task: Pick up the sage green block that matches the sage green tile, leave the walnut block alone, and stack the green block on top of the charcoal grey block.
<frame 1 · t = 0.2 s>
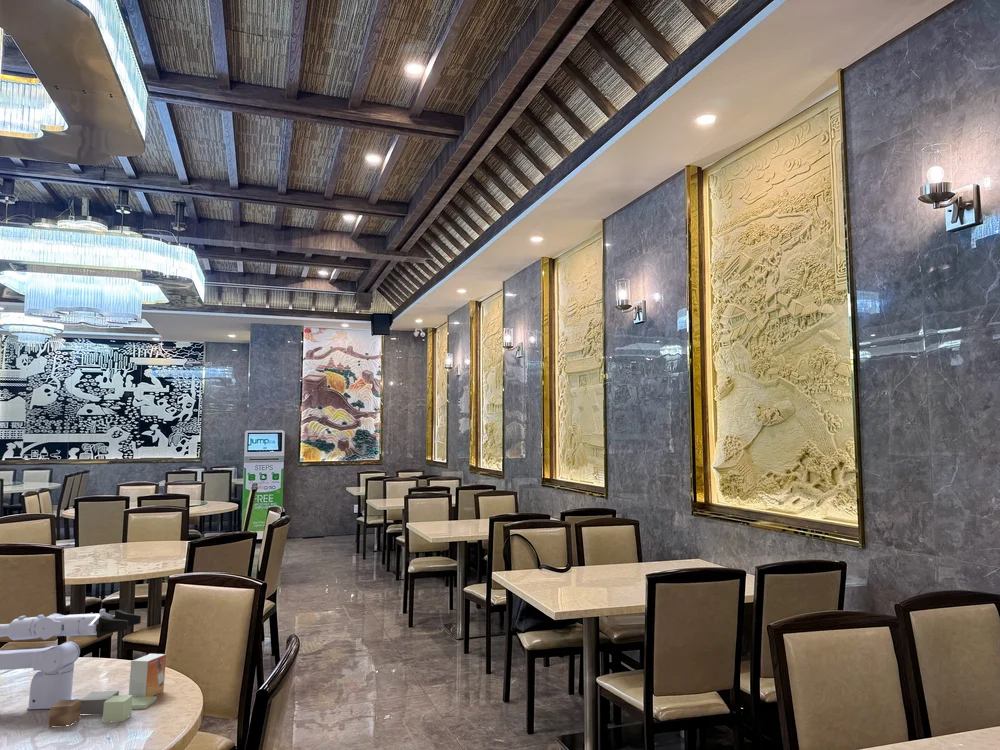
hand: (134, 622, 188), 21 cm above the table, tool horizontal, fingers open, 7 cm apart
sage green block: (117, 718, 173), on the table
sage green tile: (137, 704, 183), on the table
small box: (146, 696, 191), on the table
walnut block: (64, 723, 170), on the table
charcoal base block: (98, 711, 179), on the table
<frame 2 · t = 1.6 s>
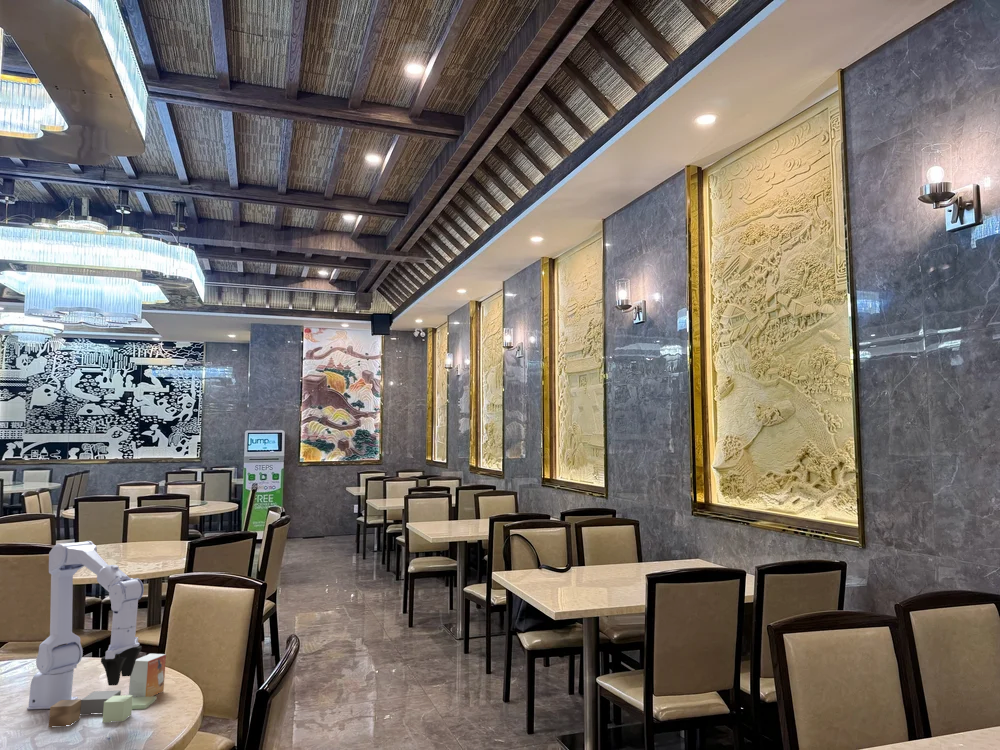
hand: (120, 680, 174), 9 cm above the table, tool pointing down, fingers open, 7 cm apart
nothing on the table moved.
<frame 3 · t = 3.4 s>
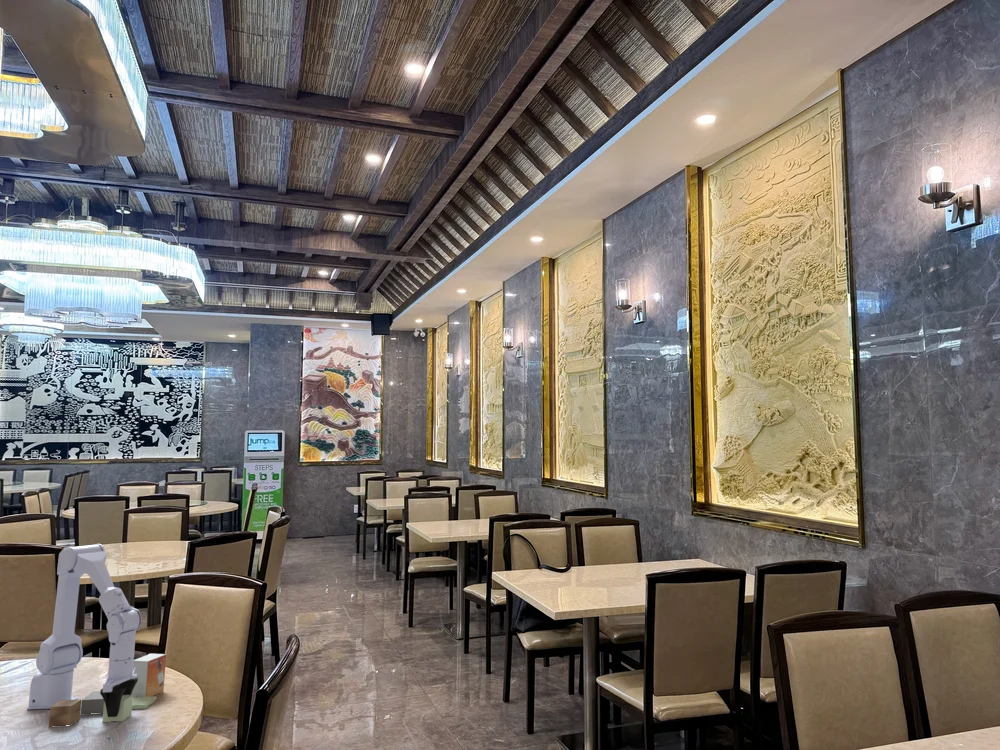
hand: (117, 712, 173), 1 cm above the table, tool pointing down, fingers closed on sage green block, 5 cm apart
sage green block: (117, 718, 173), on the table, touching gripper
everything else where it was.
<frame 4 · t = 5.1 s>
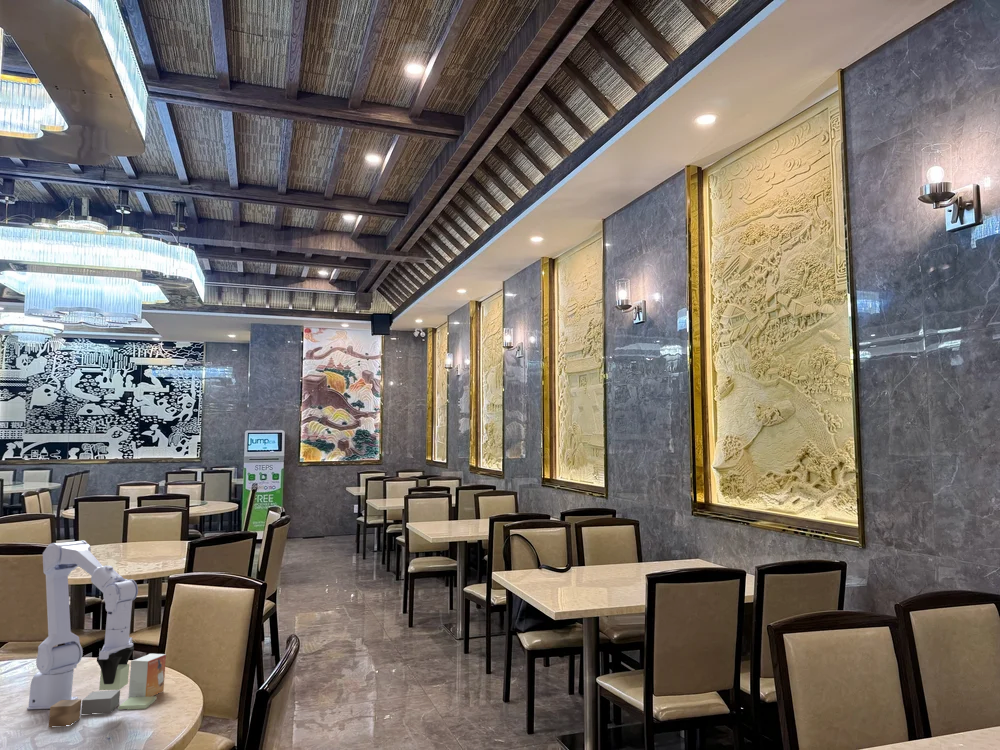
hand: (113, 680, 176), 9 cm above the table, tool pointing down, fingers closed on sage green block, 5 cm apart
sage green block: (113, 686, 176), point 7 cm above the table, touching gripper
everything else where it was.
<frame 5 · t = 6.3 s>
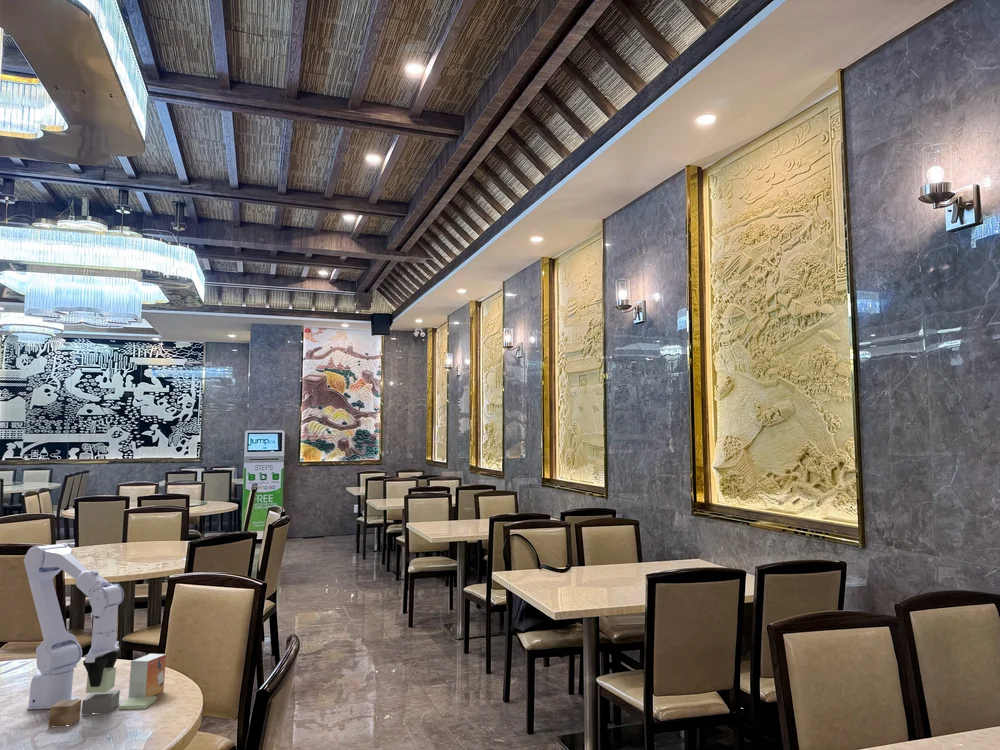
hand: (100, 683, 180), 7 cm above the table, tool pointing down, fingers closed on sage green block, 5 cm apart
sage green block: (100, 689, 180), point 5 cm above the table, touching gripper
everything else where it was.
when the fingers open (6 cm above the table, at t = 7.3 s): sage green block drops 1 cm, point 4 cm above the table.
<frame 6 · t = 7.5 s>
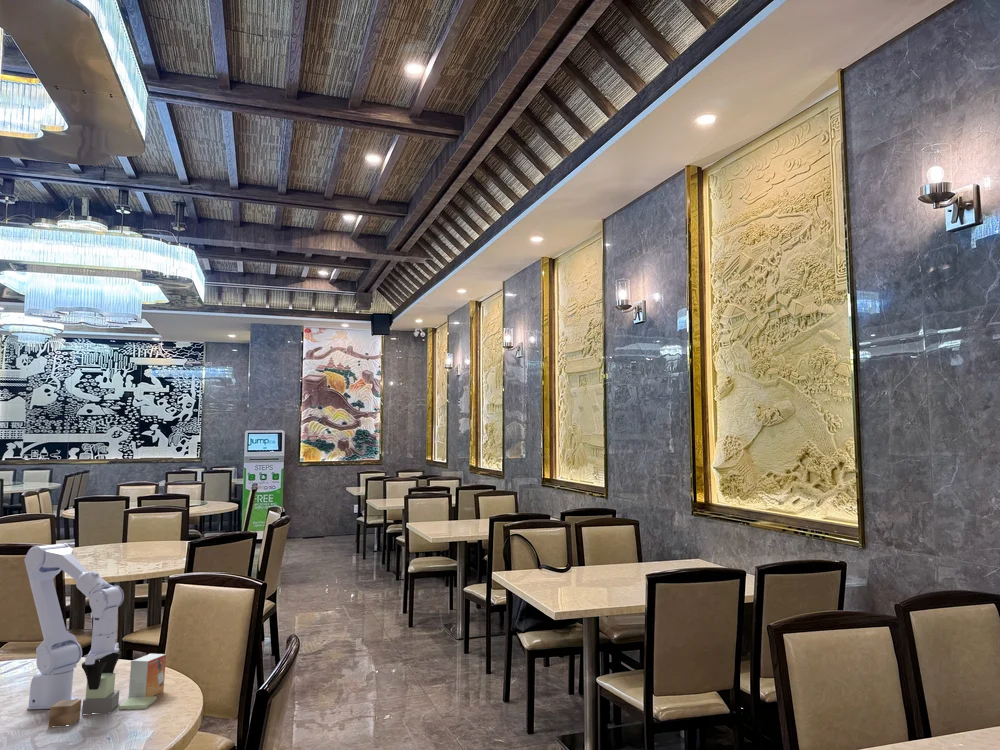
hand: (100, 685, 180), 6 cm above the table, tool pointing down, fingers open, 6 cm apart
sage green block: (99, 695, 180), point 4 cm above the table
everything else where it was.
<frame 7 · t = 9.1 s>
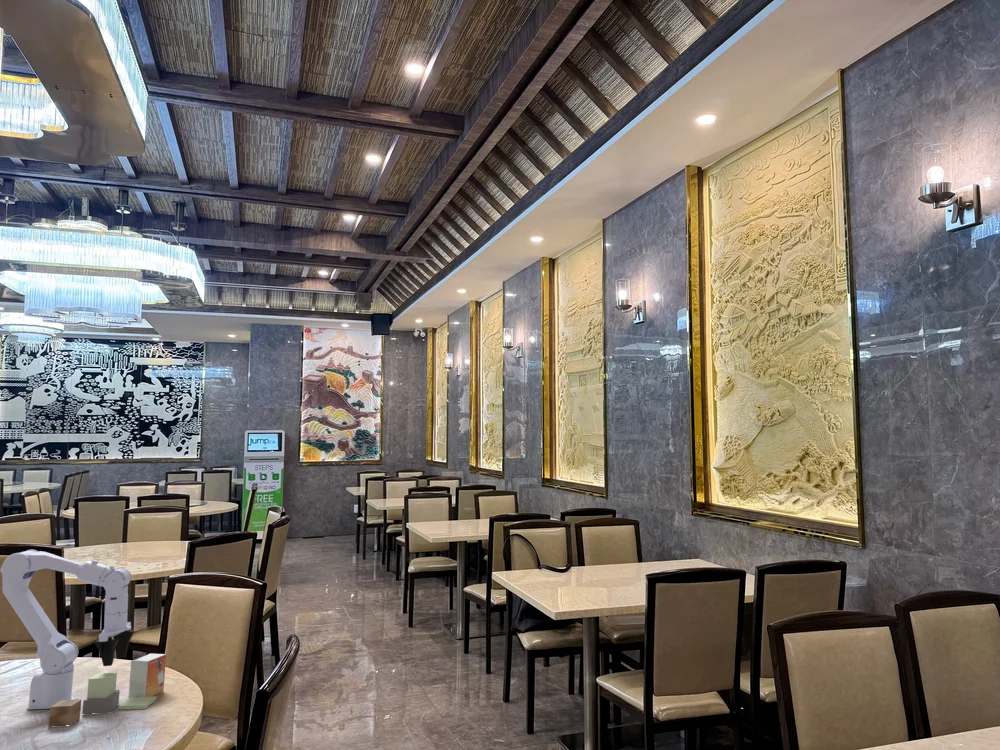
hand: (114, 661, 188), 10 cm above the table, tool pointing down, fingers open, 7 cm apart
sage green block: (101, 694, 180), point 4 cm above the table, touching charcoal base block
charcoal base block: (100, 710, 179), on the table, touching sage green block
everything else where it was.
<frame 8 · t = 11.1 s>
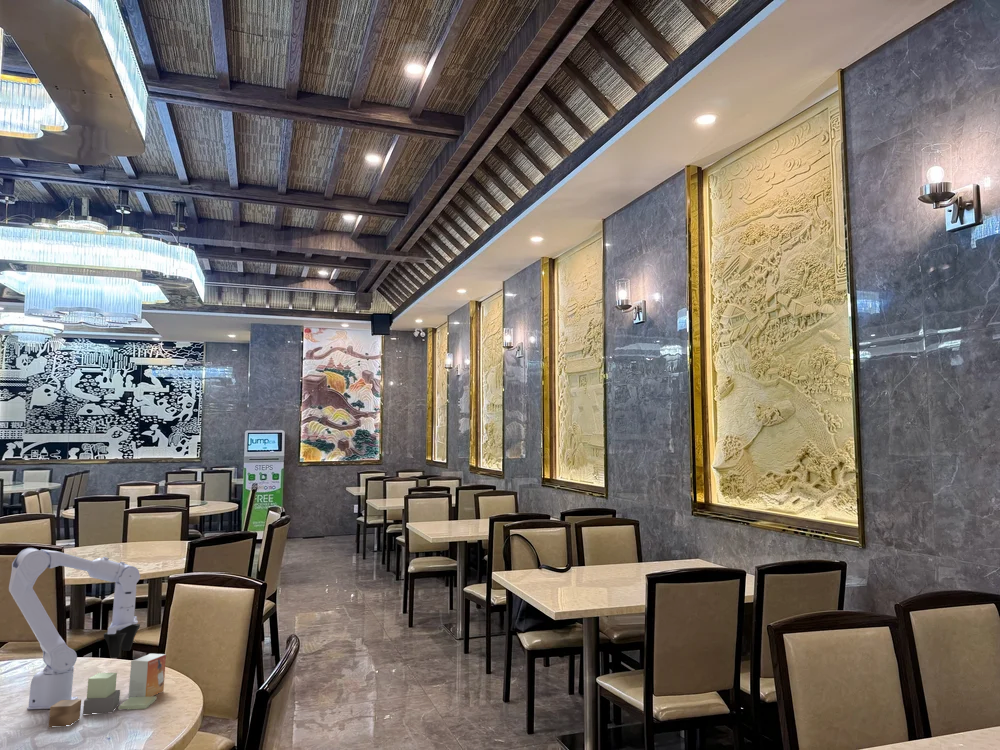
hand: (120, 653, 196), 10 cm above the table, tool pointing down, fingers open, 7 cm apart
nothing on the table moved.
at the end: sage green block 0.4 cm off-centre on the charcoal base block, point 4.0 cm above the charcoal base block's base; sage green block tilted 0°; the gripper is holding nothing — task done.
